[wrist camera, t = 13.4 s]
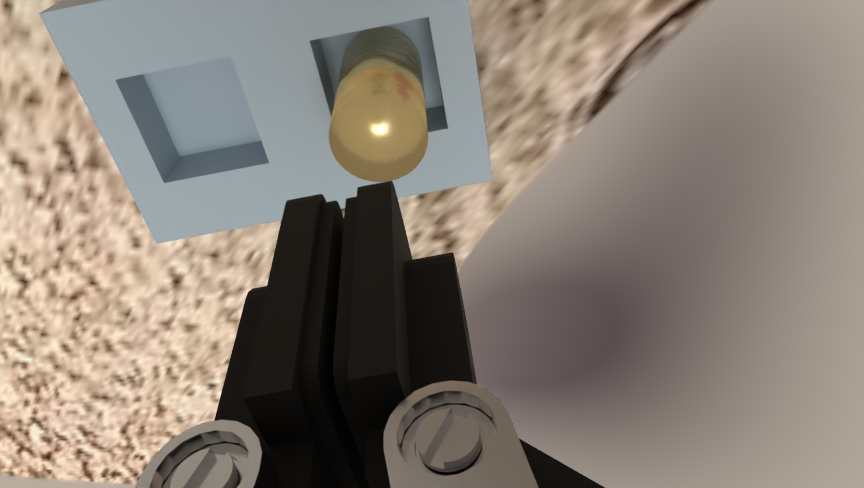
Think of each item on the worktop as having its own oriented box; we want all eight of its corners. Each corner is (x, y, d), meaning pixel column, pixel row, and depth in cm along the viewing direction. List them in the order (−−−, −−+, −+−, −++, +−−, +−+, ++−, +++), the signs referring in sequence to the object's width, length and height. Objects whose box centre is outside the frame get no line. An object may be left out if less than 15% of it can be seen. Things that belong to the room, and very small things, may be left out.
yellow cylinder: (329, 42, 31) (312, 111, 25) (406, 15, 31) (408, 78, 24) (360, 113, 34) (351, 193, 27) (432, 89, 33) (440, 165, 27)
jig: (76, -8, 30) (39, 13, 27) (448, -86, 30) (457, -73, 26) (176, 205, 37) (156, 243, 34) (482, 147, 36) (492, 180, 33)
